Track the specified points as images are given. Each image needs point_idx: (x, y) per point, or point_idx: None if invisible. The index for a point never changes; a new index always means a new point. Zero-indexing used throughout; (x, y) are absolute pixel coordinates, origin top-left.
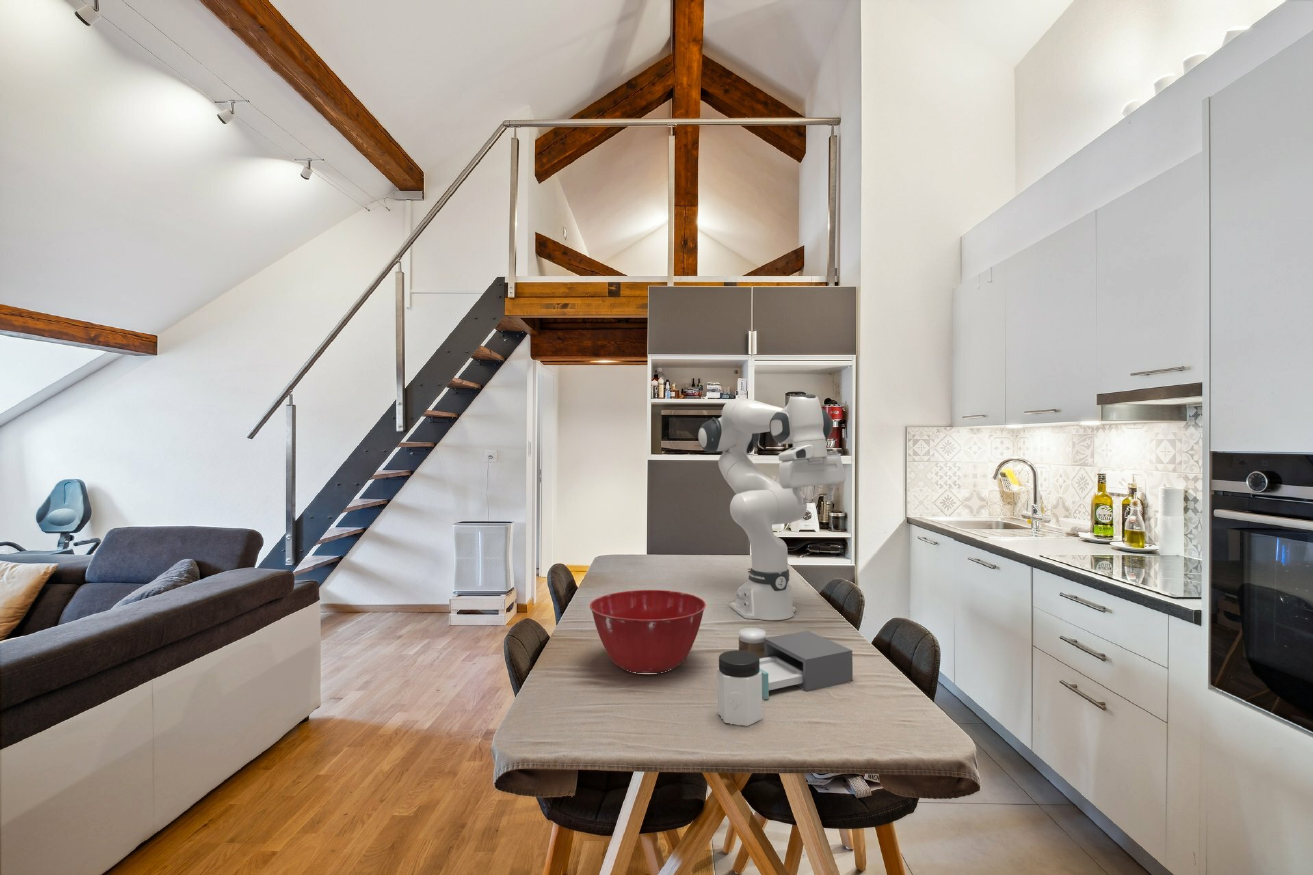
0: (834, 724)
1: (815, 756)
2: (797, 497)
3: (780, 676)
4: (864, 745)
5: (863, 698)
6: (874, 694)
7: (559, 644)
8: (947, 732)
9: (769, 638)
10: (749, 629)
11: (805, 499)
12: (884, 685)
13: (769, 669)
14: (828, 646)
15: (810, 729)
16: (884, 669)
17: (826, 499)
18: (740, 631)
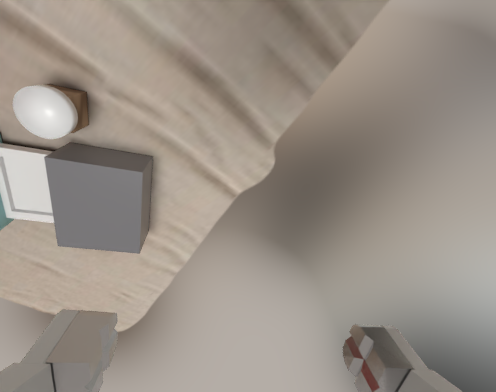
0: (59, 275)
1: (7, 297)
2: (5, 384)
3: (49, 203)
4: (60, 302)
5: (125, 258)
6: (143, 258)
7: None
8: (139, 314)
9: (52, 163)
10: (44, 98)
11: (96, 386)
12: (169, 251)
13: (46, 180)
14: (120, 231)
15: (29, 272)
16: (206, 228)
17: (357, 344)
18: (18, 96)
